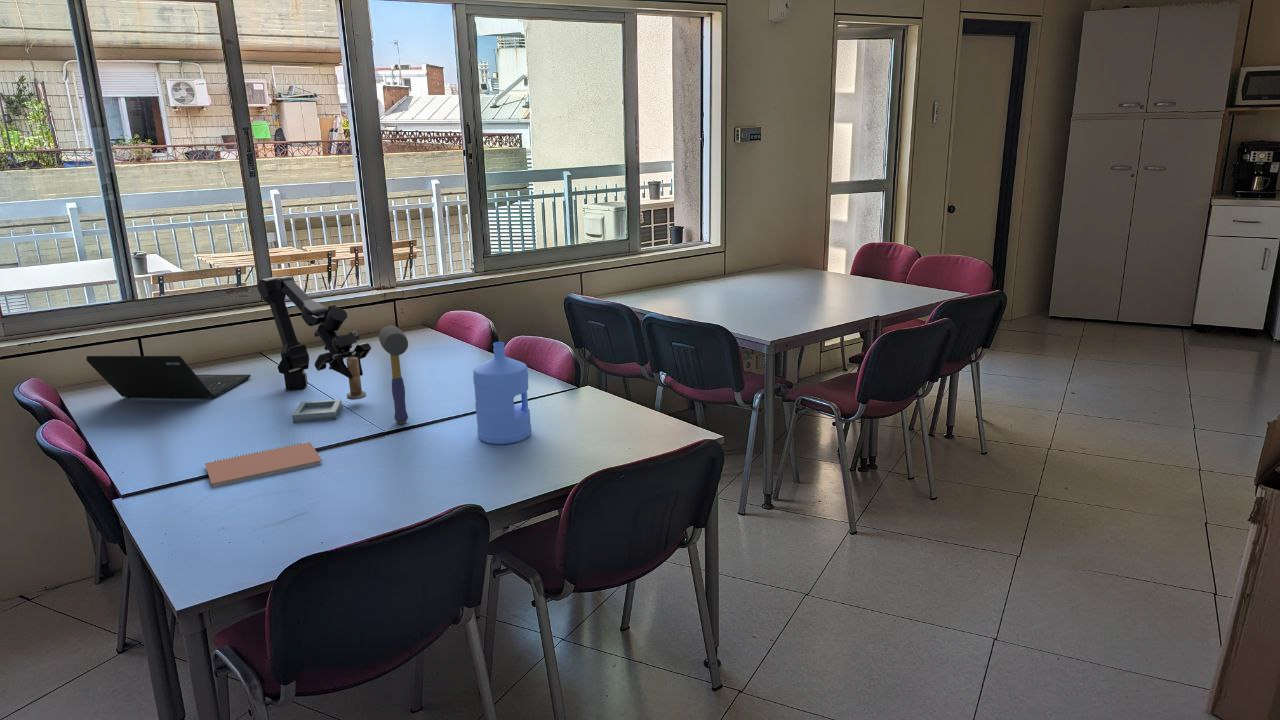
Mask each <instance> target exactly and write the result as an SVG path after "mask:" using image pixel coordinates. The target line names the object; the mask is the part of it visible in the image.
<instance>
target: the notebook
mask: <svg viewBox="0 0 1280 720" xmlns="http://www.w3.org/2000/svg"><path fill="white" fill-rule="evenodd" d="M321 462H323V459H322V457H321V456H320V455H319V453H318V452H317V450H316V448H314V446H313V444H312V442H310V441H309V442H305V443H301V442H299V443H296V444H295V443H294V445H293V444H291V445H290V444H289V445H286V446H285V445H284V446H281V447H279V446H278V447H275V448H270V449H268V448H267V450H266V449H265V450H259V451H256V452H255V451H253V452H250V453H249V452H248V454H247V453H245V454H240V455H238V454H237V455H235V456H231V457H230V456H228V457H225V458H220V459H217V460H216V459H214V461H211V462H205V463H204V466H205V468H206V472H207V474H208V477H209V482H210V486H211V488H212V489H213V488H214V489H215V488H218V487H219V488H220V487H223V486H228V485H232V484H236V483H242V482H246V481H250V480H255V479H259V478H264V477H269V476H273V475H278V474H282V473H288V472H292V471H296V470H301V469H306V468H309V467H310V468H311V467H315V466H319V465H321Z"/></svg>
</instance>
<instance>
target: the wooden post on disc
mask: <svg viewBox="0 0 1280 720" xmlns="http://www.w3.org/2000/svg"><path fill="white" fill-rule="evenodd" d="M345 359H346V360H345V361H346V367H347V368H348V370H349V371H350V373H351V375H352V376H353V378H352V379H350V378H348V384H349V392H348V393H346V399H347V400H351V401H353V400H355V401H356V400H361V399H364V398H366V397H367V392H366V391H363V389H362V381H361V376H360V370H359V361H358V357H350V358H345Z"/></svg>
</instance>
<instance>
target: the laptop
mask: <svg viewBox="0 0 1280 720" xmlns="http://www.w3.org/2000/svg"><path fill="white" fill-rule="evenodd" d="M86 362H87V363H88V364H89V365H90V366H91V367H92V368H93V369H94V370H95V371H96V372H97V373H98V374H99V375H100V376H101V377H102V378H103V379H104V381H106V382H107V383H108V384H109V386H111V387H112V388H113V389H114V391H116V392H117V393H118V394H119V395H120V396H121V397H123V398H125V399H130V398H132V399H135V398H137V399H140V398H141V399H142V398H143V399H146V398H147V399H148V398H149V399H150V398H151V399H158V398H159V399H161V398H163V399H164V398H165V399H169V398H170V399H177V398H178V399H182V398H183V399H207V398H208V399H212V398H213V399H214V398H216V397H218V396H220V395H222V394H223V393H226V392H227V391H229V390H232V388H234V387H236V386H238V385H240V384H241V383H243V382H245V381H247V380H248V379H249V378H251V377H252V375H251V374H196V373H195V372H194V370H193V369H192V368H191V367H190V366H189V365H188V363H187V362H186V361H185V360H184V358H183V357H181V355H87V356H86Z"/></svg>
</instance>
